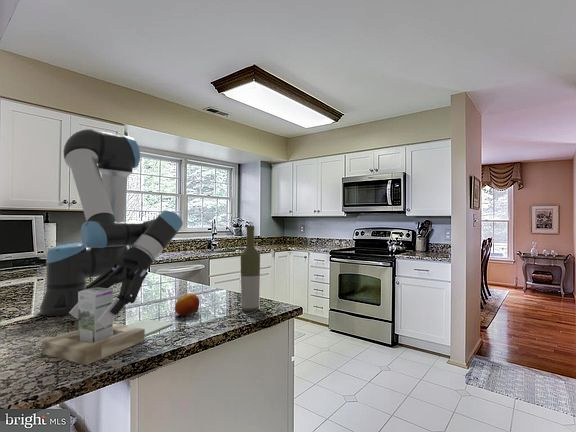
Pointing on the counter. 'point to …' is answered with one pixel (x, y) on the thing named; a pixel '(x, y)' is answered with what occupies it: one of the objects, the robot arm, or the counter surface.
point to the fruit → (187, 305)
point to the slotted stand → (92, 345)
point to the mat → (150, 325)
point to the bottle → (250, 274)
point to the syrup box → (93, 314)
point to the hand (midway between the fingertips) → (86, 320)
